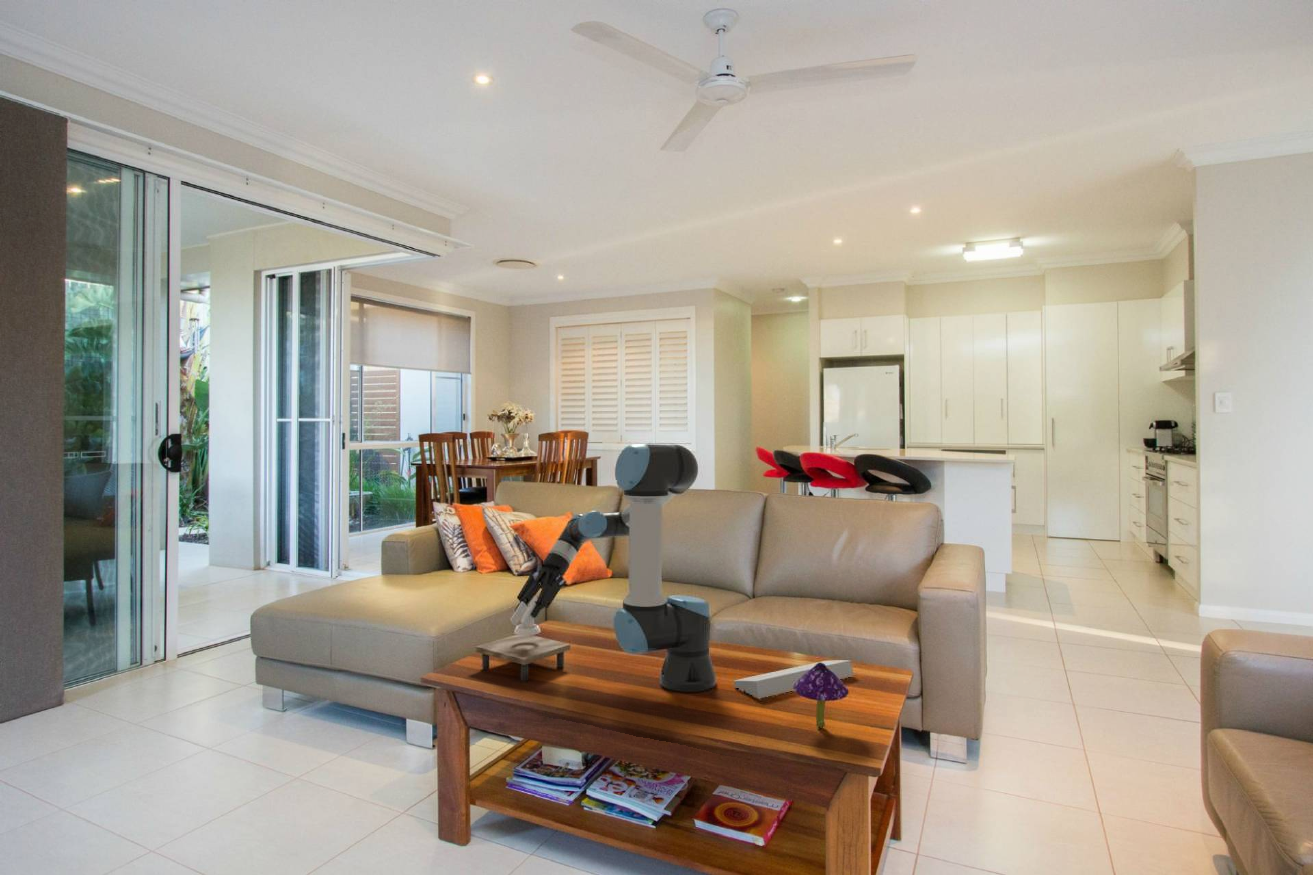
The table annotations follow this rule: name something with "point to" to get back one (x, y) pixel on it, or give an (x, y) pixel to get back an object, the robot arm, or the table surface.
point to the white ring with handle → (533, 628)
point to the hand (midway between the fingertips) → (518, 624)
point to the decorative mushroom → (820, 688)
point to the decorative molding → (787, 678)
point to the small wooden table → (523, 651)
